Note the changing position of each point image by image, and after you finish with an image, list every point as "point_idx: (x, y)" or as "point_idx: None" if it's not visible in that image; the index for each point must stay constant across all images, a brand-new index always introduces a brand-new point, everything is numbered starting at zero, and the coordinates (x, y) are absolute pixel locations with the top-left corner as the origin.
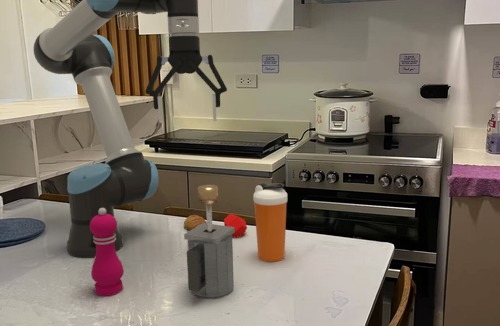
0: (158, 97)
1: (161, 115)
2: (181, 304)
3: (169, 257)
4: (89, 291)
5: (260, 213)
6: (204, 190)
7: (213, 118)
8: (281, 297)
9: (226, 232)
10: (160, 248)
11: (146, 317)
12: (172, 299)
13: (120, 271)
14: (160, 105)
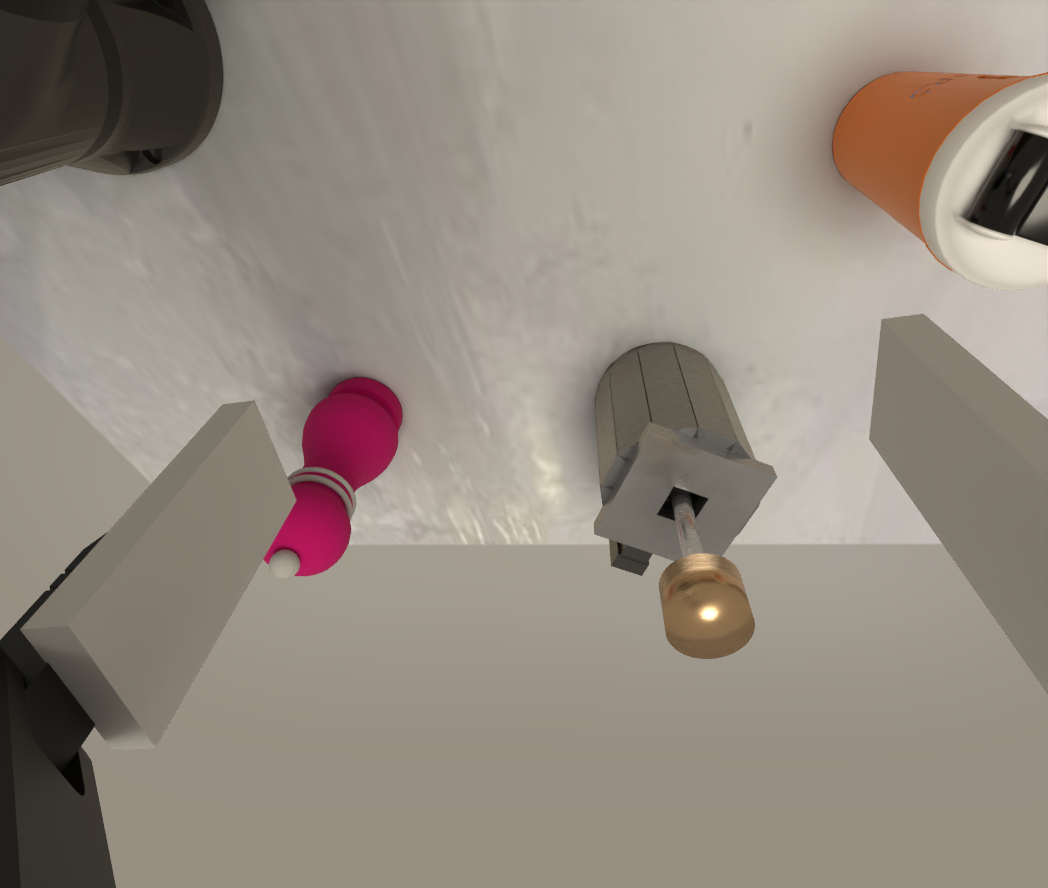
0: (131, 741)
1: (265, 552)
2: (585, 478)
3: (466, 152)
4: None
5: (922, 240)
6: (695, 655)
7: (882, 457)
8: (853, 443)
9: (743, 523)
10: (396, 42)
11: (516, 530)
12: (556, 456)
13: (393, 452)
14: (207, 641)
